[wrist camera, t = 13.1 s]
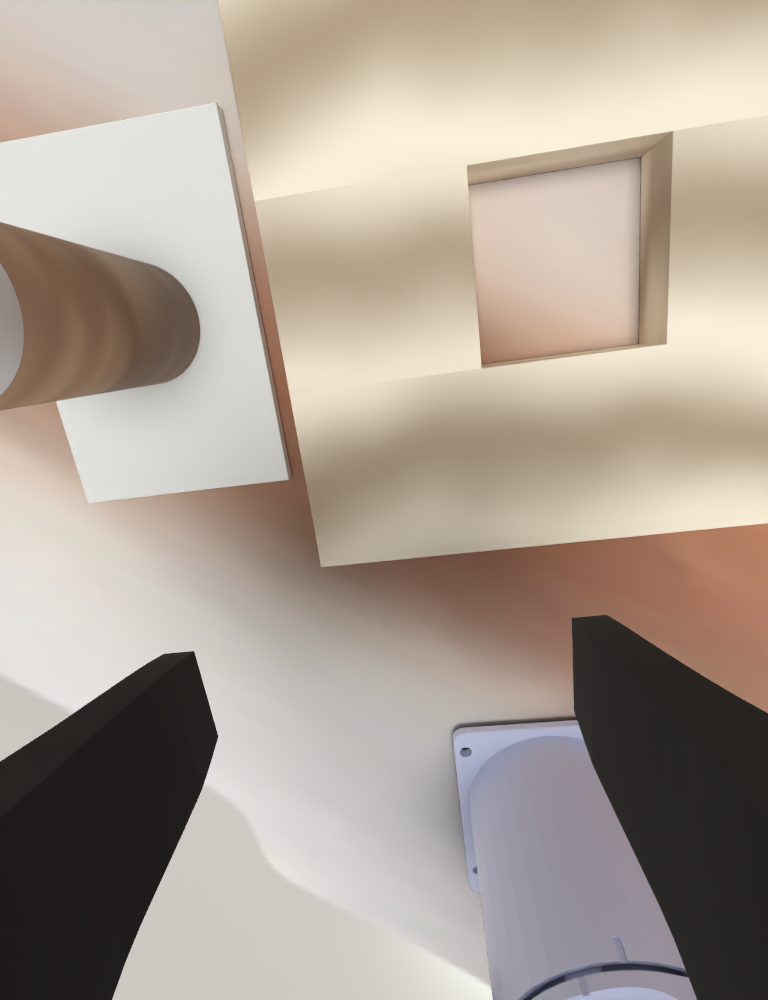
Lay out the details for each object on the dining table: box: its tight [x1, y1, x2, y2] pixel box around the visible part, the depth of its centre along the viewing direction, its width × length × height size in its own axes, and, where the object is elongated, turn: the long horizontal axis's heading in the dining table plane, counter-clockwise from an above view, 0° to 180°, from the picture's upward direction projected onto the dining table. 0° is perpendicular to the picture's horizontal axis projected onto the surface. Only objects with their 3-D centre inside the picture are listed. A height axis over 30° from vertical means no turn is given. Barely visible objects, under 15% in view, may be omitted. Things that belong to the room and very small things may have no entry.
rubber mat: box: [0, 102, 292, 503], centre depth 18 cm, size 12×8×1 cm, turn 7°
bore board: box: [218, 0, 768, 567], centre depth 16 cm, size 18×18×2 cm
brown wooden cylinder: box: [0, 222, 200, 410], centre depth 14 cm, size 4×4×8 cm
